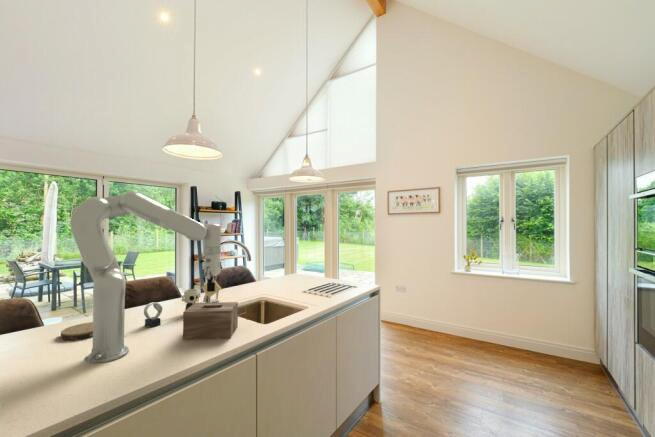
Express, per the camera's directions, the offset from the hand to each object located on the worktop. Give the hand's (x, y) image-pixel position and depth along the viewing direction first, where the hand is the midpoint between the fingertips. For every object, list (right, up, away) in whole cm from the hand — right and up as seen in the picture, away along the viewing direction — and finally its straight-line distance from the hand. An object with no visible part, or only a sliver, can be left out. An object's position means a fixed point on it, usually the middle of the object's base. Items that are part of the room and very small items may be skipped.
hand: (211, 290), depth 132 cm
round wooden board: (-57, -20, -2) cm, 60 cm away
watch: (-33, -20, +10) cm, 39 cm away
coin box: (0, -19, 0) cm, 19 cm away
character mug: (-23, -20, +28) cm, 41 cm away
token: (-3, -1, 0) cm, 3 cm away
